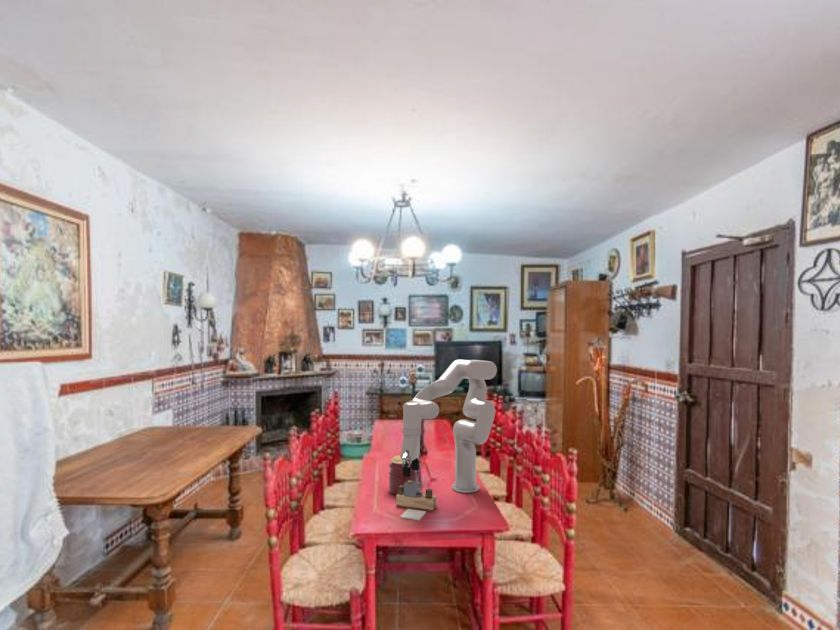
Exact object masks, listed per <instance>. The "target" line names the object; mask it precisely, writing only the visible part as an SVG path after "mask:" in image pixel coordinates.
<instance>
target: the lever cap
mask: <svg viewBox="0 0 840 630" xmlns="http://www.w3.org/2000/svg"><path fill="white" fill-rule="evenodd" d="M420 492H421V481H418V480H417V481H412V480H408V481H407V482H406V483H405V484H404V496H406V497H414V498H417V495H418V494H419V493H420Z"/></svg>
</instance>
